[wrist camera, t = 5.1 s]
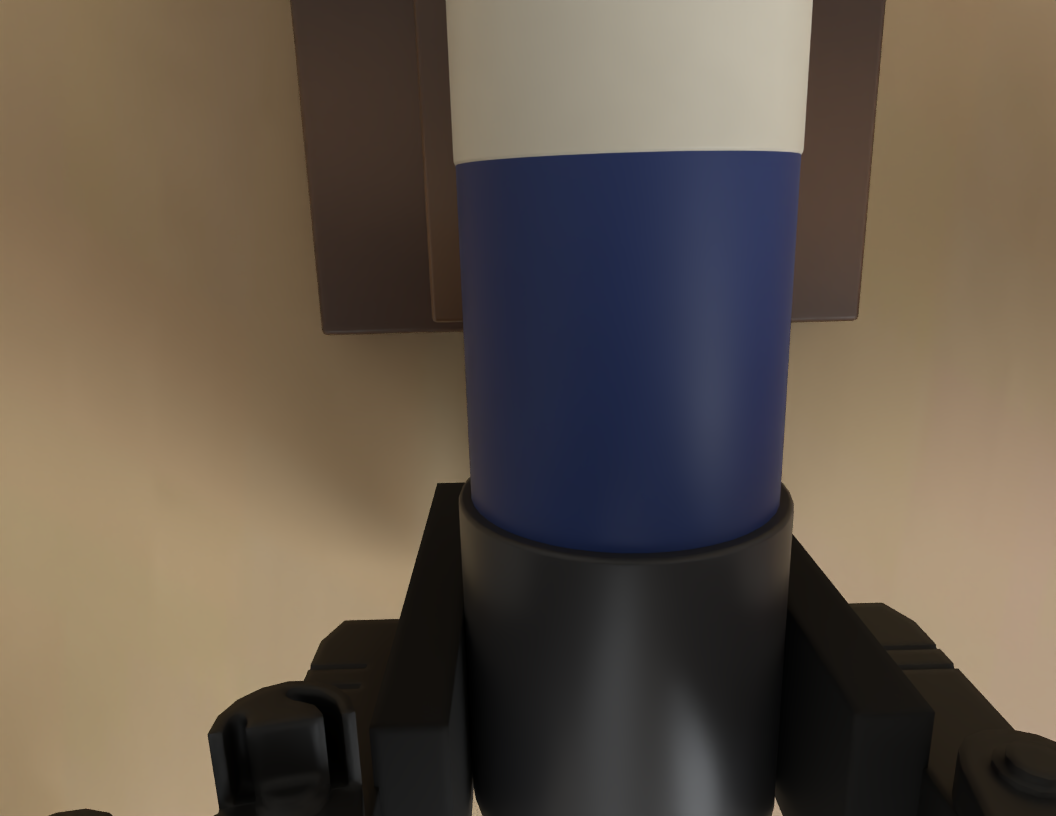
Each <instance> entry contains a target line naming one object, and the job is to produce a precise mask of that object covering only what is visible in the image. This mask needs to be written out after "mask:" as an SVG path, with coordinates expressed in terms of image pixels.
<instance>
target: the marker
mask: <svg viewBox="0 0 1056 816" xmlns="http://www.w3.org/2000/svg"><path fill="white" fill-rule="evenodd" d="M812 7H813V0H446V17H447V38H448V58H449V79H450V100H451V121H452V141H453V162H454V164H455V166H456V185H457V206H458V227H459V248H460V269H461V290H462V311H463V332H464V353H465V374H466V395H467V416H468V437H469V458H470V478H469V479H468V480H467V481H466V483H465V484H464V485H463V487H462V490H461V492H460V495H459V519H460V538H461V557H462V576H463V595H464V615H465V634H466V653H467V672H468V691H469V711H470V730H471V749H472V768H473V786H474V791H475V796H476V800H477V803H478V805H479V808H480V811H481V813H482V815H483V816H772V812H773V808H774V799H775V784H776V769H777V754H778V739H779V724H780V709H781V694H782V679H783V664H784V649H785V634H786V619H787V604H788V589H789V574H790V559H791V544H792V528H793V513H794V503H793V500H792V498H791V495H790V492H789V491H788V489H787V488H786V487H785V485H784V484H783V483H782V482H781V476H782V460H783V443H784V427H785V411H786V394H787V378H788V362H789V346H790V329H791V313H792V297H793V280H794V264H795V248H796V231H797V215H798V199H799V183H800V166H801V155H802V153H803V150H804V136H805V120H806V104H807V88H808V72H809V55H810V39H811V23H812Z"/></svg>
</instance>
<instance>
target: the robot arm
mask: <svg viewBox="0 0 1056 816" xmlns="http://www.w3.org/2000/svg"><path fill="white" fill-rule="evenodd" d="M464 484H465V483H437V487H436V490H435V494H434V498H433V501H432V505H431V508H430V512H429V515H428V519H427V523H426V526H425V530H424V533H423V537H422V541H421V544H420V548H419V551H418V555H417V558H416V562H415V566H414V569H413V573H412V576H411V580H410V583H409V587H408V591H407V594H406V598H405V601H404V605H403V608H402V612H401V616H400V619H384V620H349V621H344V622H343V623H342V624H340V625H339V626H338V627H337V628H336V629H335V630H334V631H332V632H331V633H330V634H329V635H328V636H327V637H326V638H324V639H323V640H322V641H321V643H320V645H319V647H318V650H317V652H316V654H315V656H314V659H313V661H312V663H311V669H310V670H308V672H307V675H306V677H305V679H304V681H288V682H284V683H280V684H276V685H272V686H268V687H264V688H261V689H259V690H257V691H255V692H253V693H251V694H249V695H247V696H245V697H242V698H240V699H238V700H237V701H235V702H234V703H233V704H232V705H231V706H230V707H228V708H227V709H226V710H225V711H224V712H222V713H221V714H220V715H219V716H218V717H217V719H216V721H215V722H214V724H213V726H212V728H211V729H210V731H209V733H208V740H209V746H210V753H211V759H212V765H213V772H214V778H215V784H216V791H217V797H218V804H219V813H218V814H216V815H214V816H472V803H473V790H474V786H473V768H472V749H471V730H470V711H469V691H468V672H467V653H466V634H465V615H464V595H463V576H462V557H461V538H460V519H459V495H460V492H461V490H462V487H463V485H464ZM775 798H776V800H777V803H778V805H779V807H780V810H781V812H782V815H783V816H1056V742H1055V741H1052V740H1050V739H1047V738H1045V737H1042V736H1039V735H1036V734H1031V733H1026V732H1021V731H1016V730H1014V729H1013V728H1012V726H1011V725H1010V724H1009V723H1008V722H1007V721H1006V720H1005V719H1004V718H1003V717H1002V716H1001V715H1000V713H999V712H998V711H997V710H996V709H995V708H994V707H993V706H992V705H991V704H990V703H989V702H988V700H987V699H986V698H985V697H984V696H983V695H982V694H981V693H980V692H979V691H978V690H977V689H976V687H975V686H974V685H973V684H972V683H971V682H970V681H969V680H968V679H967V678H966V677H965V676H964V674H963V673H962V672H961V671H960V670H959V669H954V664H953V663H952V661H951V660H950V659H949V658H948V657H947V656H946V655H945V654H944V653H943V652H942V651H941V650H940V649H936V644H935V643H934V642H933V641H932V640H931V639H930V638H929V637H928V635H927V634H926V633H925V632H924V631H923V630H922V629H921V628H920V627H919V626H918V625H917V624H916V622H914V621H913V620H911V619H909V618H908V617H906V616H904V615H902V614H901V613H899V612H897V611H896V610H894V609H892V608H890V607H889V606H887V605H885V604H884V603H853V604H848V603H847V601H846V600H845V599H844V598H843V596H842V595H841V594H840V593H839V591H838V590H837V589H836V588H835V586H834V585H833V584H832V583H831V581H830V580H829V579H828V578H827V576H826V575H825V574H824V573H823V571H822V570H821V569H820V568H819V566H818V565H817V564H816V563H815V561H814V560H813V559H812V558H811V556H810V555H809V554H808V553H807V551H806V550H805V549H804V548H803V546H802V545H801V544H800V543H799V541H798V540H797V539H796V538H795V536H794V535H793V534H792V544H791V559H790V574H789V589H788V604H787V619H786V634H785V649H784V664H783V679H782V694H781V709H780V724H779V739H778V754H777V769H776V784H775ZM49 816H112V815H111V814H110V813H108V812H102V811H96V810H91V809H80V810H73V811H66V812H58V813H55V814H52V815H49Z"/></svg>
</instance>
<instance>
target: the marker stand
mask: <svg viewBox="0 0 1056 816" xmlns="http://www.w3.org/2000/svg"><path fill="white" fill-rule="evenodd" d="M885 2H886V0H813V7H812V23H811V39H810V55H809V72H808V88H807V104H806V120H805V136H804V150H803V153H802V155H801V166H800V183H799V199H798V215H797V231H796V248H795V264H794V280H793V297H792V313H791V322H826V321H853V320H855V319H857V317H858V312H859V300H860V289H861V277H862V266H863V254H864V243H865V231H866V220H867V209H868V197H869V186H870V174H871V163H872V151H873V140H874V128H875V117H876V105H877V94H878V82H879V71H880V59H881V48H882V36H883V25H884V14H885ZM290 3H291V13H292V24H293V34H294V44H295V55H296V65H297V75H298V86H299V96H300V106H301V117H302V127H303V137H304V148H305V158H306V168H307V179H308V189H309V199H310V210H311V220H312V230H313V241H314V251H315V261H316V272H317V282H318V292H319V303H320V313H321V323H322V330H323V332H324V334H327V335H348V334H385V333H421V332H458V331H463V311H462V290H461V269H460V248H459V227H458V206H457V185H456V166H455V164H454V162H453V141H452V121H451V100H450V79H449V58H448V38H447V17H446V0H290Z"/></svg>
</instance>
